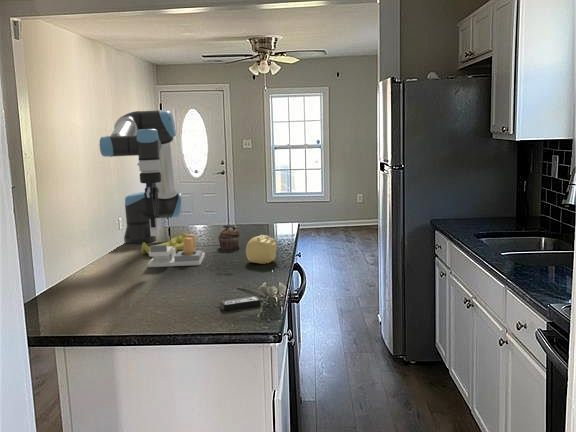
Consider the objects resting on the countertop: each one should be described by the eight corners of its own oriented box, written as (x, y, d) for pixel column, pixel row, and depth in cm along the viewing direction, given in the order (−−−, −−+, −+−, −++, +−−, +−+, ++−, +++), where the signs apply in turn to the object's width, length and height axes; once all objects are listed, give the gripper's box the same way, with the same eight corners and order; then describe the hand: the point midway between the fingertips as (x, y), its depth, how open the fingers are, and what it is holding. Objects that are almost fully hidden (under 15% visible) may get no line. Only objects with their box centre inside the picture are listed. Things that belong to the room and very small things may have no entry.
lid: (154, 251, 222) (153, 241, 221) (173, 250, 222) (172, 240, 221) (149, 256, 212) (148, 246, 211) (168, 255, 212) (167, 245, 212)
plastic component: (152, 253, 230) (141, 240, 236) (151, 267, 234) (140, 254, 240) (194, 242, 242) (182, 230, 248) (192, 255, 246) (181, 243, 252)
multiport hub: (220, 308, 161) (219, 300, 161) (256, 303, 165) (256, 295, 164) (224, 313, 157) (223, 305, 156) (261, 307, 161) (260, 299, 160)
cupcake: (242, 245, 251) (240, 223, 250) (238, 249, 242) (236, 226, 240) (221, 245, 252) (219, 223, 251) (216, 249, 243) (215, 227, 241)
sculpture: (273, 266, 209) (272, 237, 207) (243, 265, 211) (241, 237, 210) (280, 259, 220) (279, 232, 218) (251, 258, 222) (249, 232, 221)
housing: (156, 258, 230) (154, 235, 229) (204, 255, 231) (203, 233, 229) (147, 267, 215) (145, 242, 213) (199, 264, 215) (198, 240, 214)
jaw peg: (185, 257, 222) (183, 237, 221) (194, 257, 222) (192, 237, 221) (183, 259, 219) (182, 239, 217) (193, 259, 219) (191, 239, 218)
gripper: (143, 171, 209) (148, 233, 212) (135, 173, 196) (140, 239, 200) (163, 170, 209) (168, 232, 213) (156, 172, 196) (161, 238, 200)
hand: (154, 235), depth 206 cm, fingers closed
